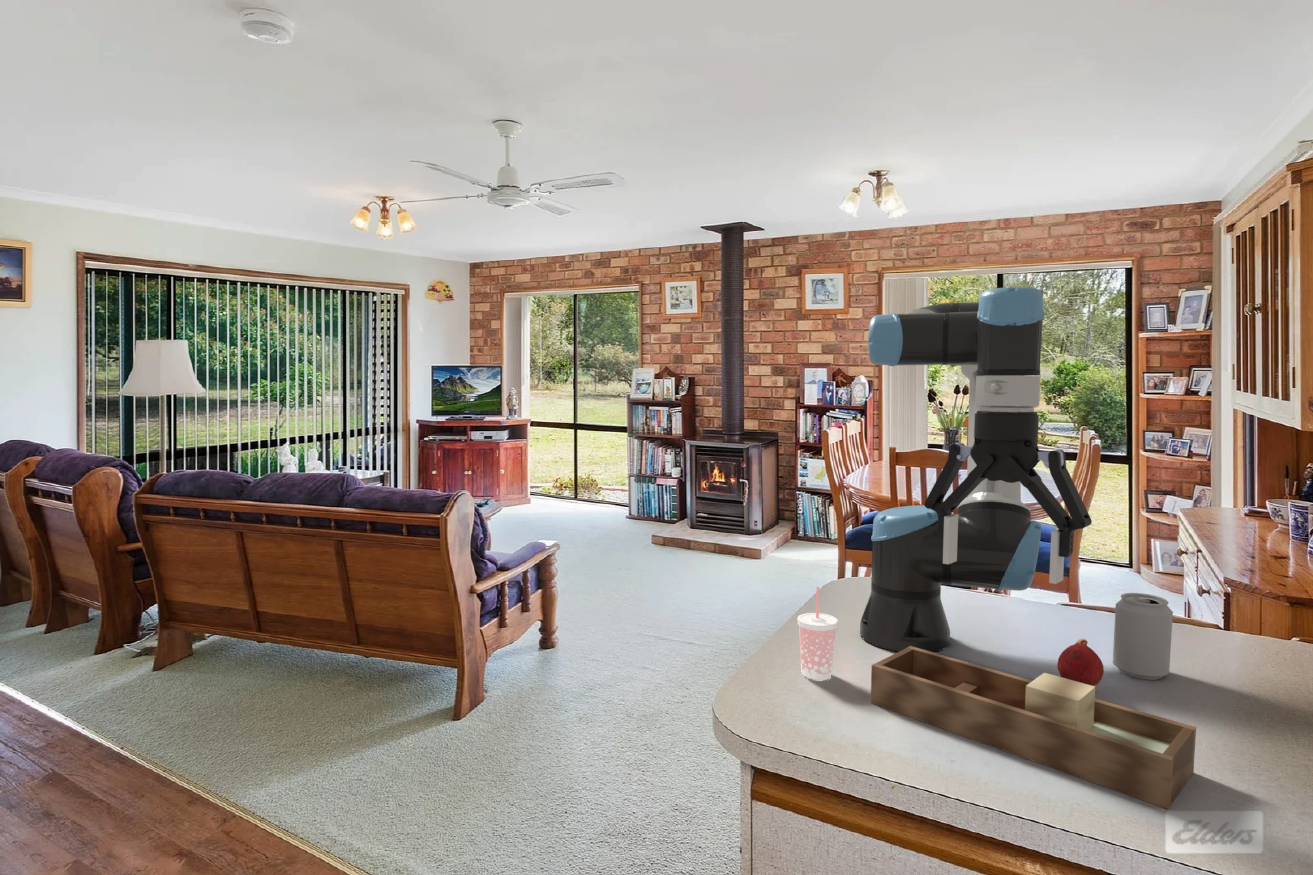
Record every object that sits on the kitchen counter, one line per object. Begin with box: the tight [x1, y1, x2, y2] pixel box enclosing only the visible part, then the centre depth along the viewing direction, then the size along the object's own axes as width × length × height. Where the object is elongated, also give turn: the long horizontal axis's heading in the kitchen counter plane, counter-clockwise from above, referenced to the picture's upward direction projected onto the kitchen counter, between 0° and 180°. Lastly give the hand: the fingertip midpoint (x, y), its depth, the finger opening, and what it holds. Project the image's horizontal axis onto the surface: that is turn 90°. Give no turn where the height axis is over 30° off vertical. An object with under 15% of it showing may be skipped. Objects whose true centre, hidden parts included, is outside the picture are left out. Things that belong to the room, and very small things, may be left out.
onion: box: [1057, 638, 1104, 687], centre depth 110 cm, size 6×6×8 cm
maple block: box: [1025, 672, 1096, 730], centre depth 94 cm, size 6×6×5 cm
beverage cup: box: [796, 586, 839, 679], centre depth 116 cm, size 6×6×14 cm
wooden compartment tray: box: [870, 646, 1197, 810], centre depth 98 cm, size 36×11×6 cm, turn 43°
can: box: [1112, 592, 1174, 681], centre depth 117 cm, size 8×8×12 cm
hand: (1000, 571), depth 99 cm, fingers open, 13 cm apart
